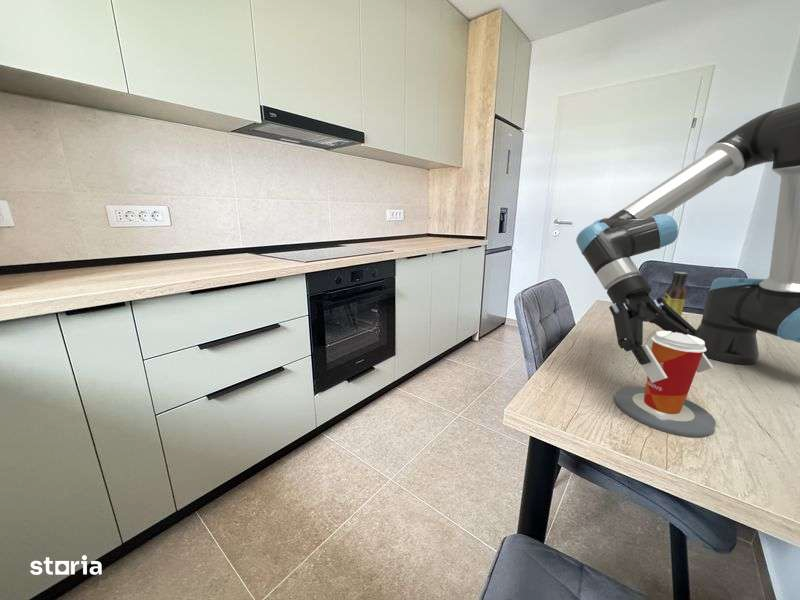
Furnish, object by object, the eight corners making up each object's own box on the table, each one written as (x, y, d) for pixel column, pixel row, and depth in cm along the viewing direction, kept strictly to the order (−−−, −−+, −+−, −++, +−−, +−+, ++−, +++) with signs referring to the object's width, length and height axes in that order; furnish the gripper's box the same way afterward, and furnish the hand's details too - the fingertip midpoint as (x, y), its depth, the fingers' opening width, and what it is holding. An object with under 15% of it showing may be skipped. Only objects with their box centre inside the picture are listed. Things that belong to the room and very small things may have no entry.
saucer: (647, 386, 76) (648, 381, 76) (733, 427, 61) (735, 421, 61) (597, 397, 71) (598, 392, 70) (678, 445, 56) (680, 439, 56)
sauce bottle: (660, 319, 129) (672, 270, 124) (680, 323, 125) (693, 272, 120) (656, 322, 125) (668, 271, 120) (676, 326, 120) (690, 274, 115)
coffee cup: (638, 390, 72) (653, 326, 68) (687, 404, 66) (706, 336, 63) (635, 406, 65) (652, 337, 61) (689, 423, 60) (710, 349, 56)
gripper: (646, 289, 79) (704, 372, 69) (568, 295, 71) (621, 390, 61) (676, 271, 73) (743, 359, 63) (594, 275, 64) (657, 378, 55)
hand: (683, 375), depth 62 cm, fingers open, 13 cm apart
